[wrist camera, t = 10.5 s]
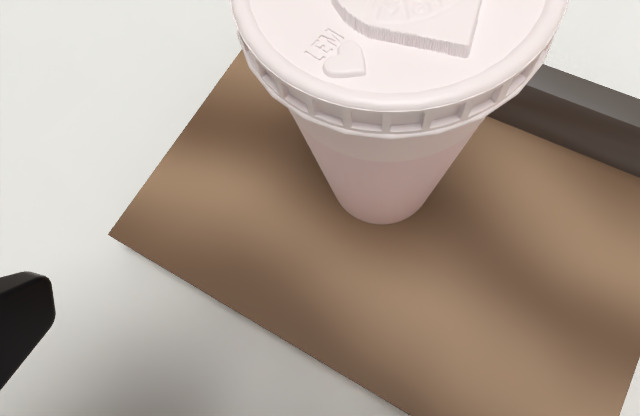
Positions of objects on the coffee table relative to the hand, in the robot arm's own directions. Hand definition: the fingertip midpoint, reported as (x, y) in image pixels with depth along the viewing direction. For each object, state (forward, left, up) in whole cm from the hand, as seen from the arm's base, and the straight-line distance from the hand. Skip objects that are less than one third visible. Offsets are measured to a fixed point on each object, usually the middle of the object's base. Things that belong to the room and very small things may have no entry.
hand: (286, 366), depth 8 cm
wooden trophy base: (+5, -4, -10) cm, 12 cm away
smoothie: (+6, -4, -8) cm, 11 cm away
